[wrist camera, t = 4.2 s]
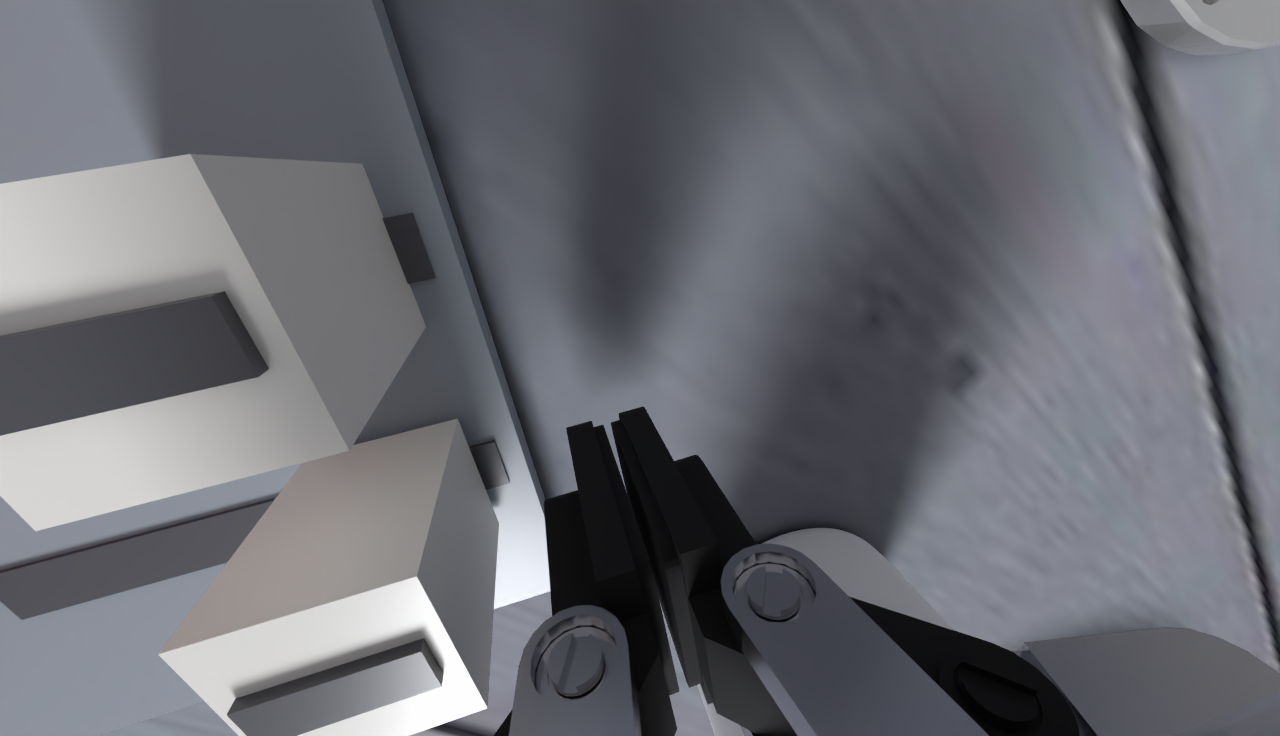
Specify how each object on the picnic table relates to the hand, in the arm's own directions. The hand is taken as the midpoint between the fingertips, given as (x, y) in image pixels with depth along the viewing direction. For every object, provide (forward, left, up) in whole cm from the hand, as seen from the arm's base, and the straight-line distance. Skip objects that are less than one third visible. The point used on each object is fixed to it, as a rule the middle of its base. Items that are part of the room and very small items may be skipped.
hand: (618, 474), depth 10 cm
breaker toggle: (+4, 0, -2) cm, 5 cm away
